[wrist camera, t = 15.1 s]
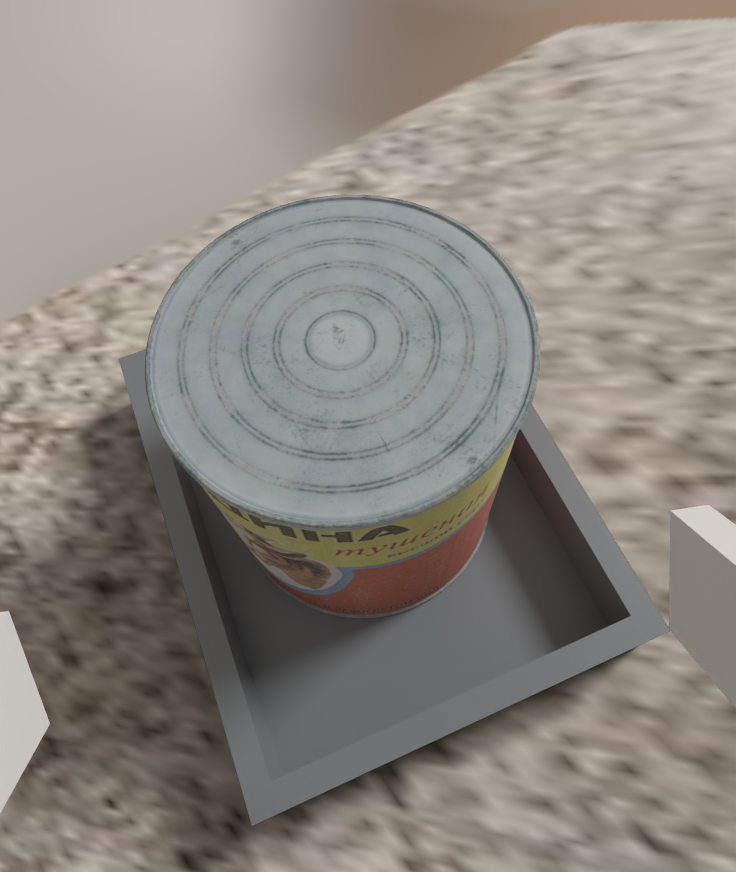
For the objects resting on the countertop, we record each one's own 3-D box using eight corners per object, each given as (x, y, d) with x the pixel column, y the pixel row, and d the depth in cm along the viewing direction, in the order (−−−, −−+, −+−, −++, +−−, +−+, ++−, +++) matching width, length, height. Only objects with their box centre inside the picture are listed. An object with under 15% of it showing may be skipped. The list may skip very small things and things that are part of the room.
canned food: (188, 523, 29) (61, 387, 18) (336, 346, 33) (303, 147, 22) (398, 675, 26) (393, 618, 15) (535, 459, 30) (611, 290, 19)
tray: (431, 291, 35) (434, 245, 32) (639, 645, 27) (670, 630, 23) (145, 396, 33) (118, 358, 30) (271, 817, 25) (251, 826, 21)
